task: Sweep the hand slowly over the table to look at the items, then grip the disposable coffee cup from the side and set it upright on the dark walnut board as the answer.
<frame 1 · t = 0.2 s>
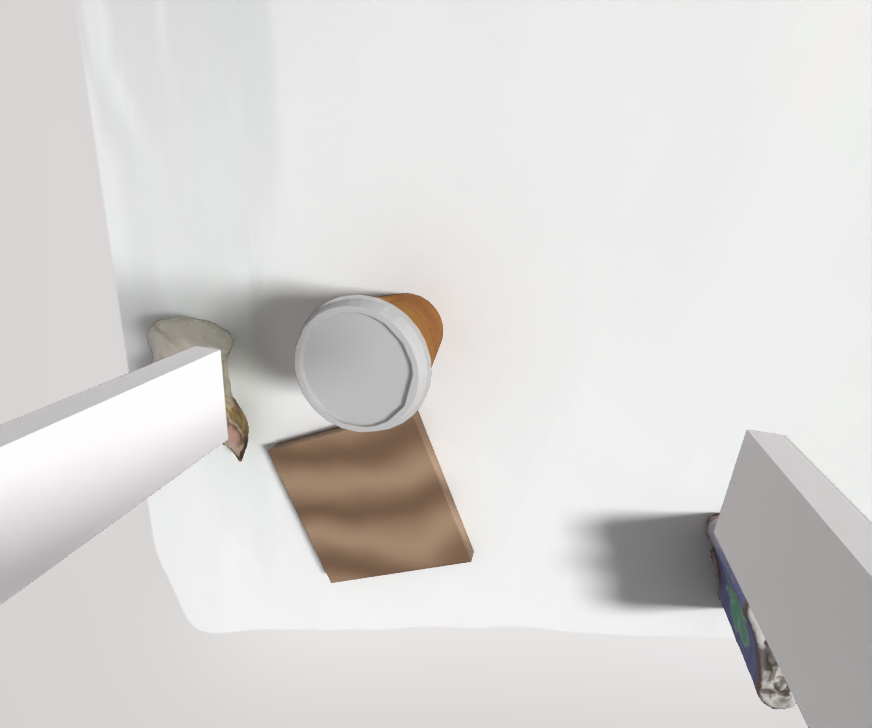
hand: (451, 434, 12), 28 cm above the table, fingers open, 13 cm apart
flask: (729, 559, 41), on the table
ceramic sculpture: (216, 375, 49), on the table
disposable coffee cup: (408, 328, 42), on the table
walnut board: (373, 496, 48), on the table
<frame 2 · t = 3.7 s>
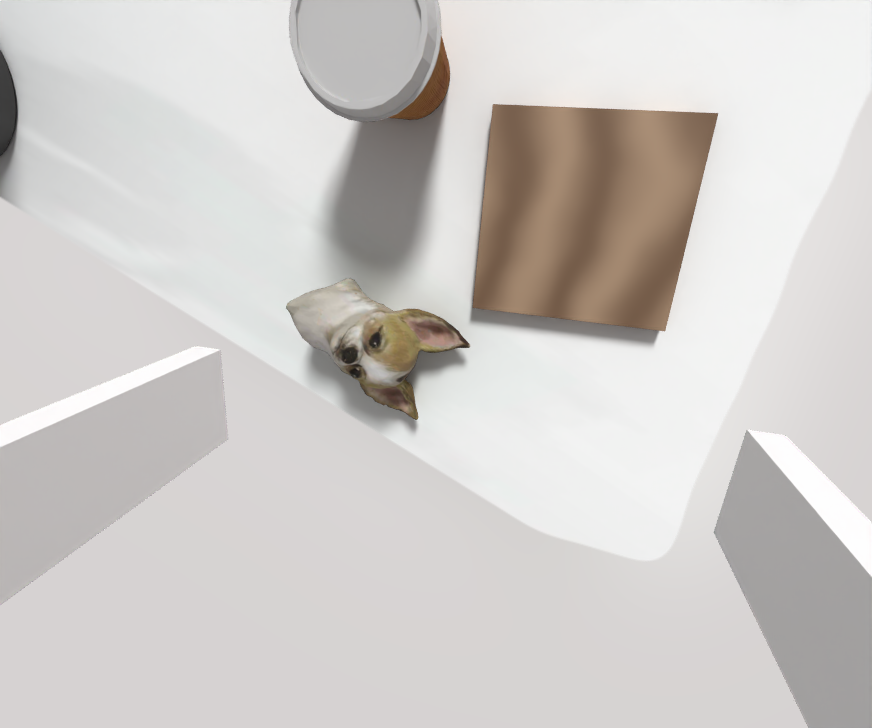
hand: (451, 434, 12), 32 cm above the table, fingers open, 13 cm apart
ceramic sculpture: (386, 332, 47), on the table
disposable coffee cup: (412, 77, 39), on the table
walnut board: (580, 220, 39), on the table
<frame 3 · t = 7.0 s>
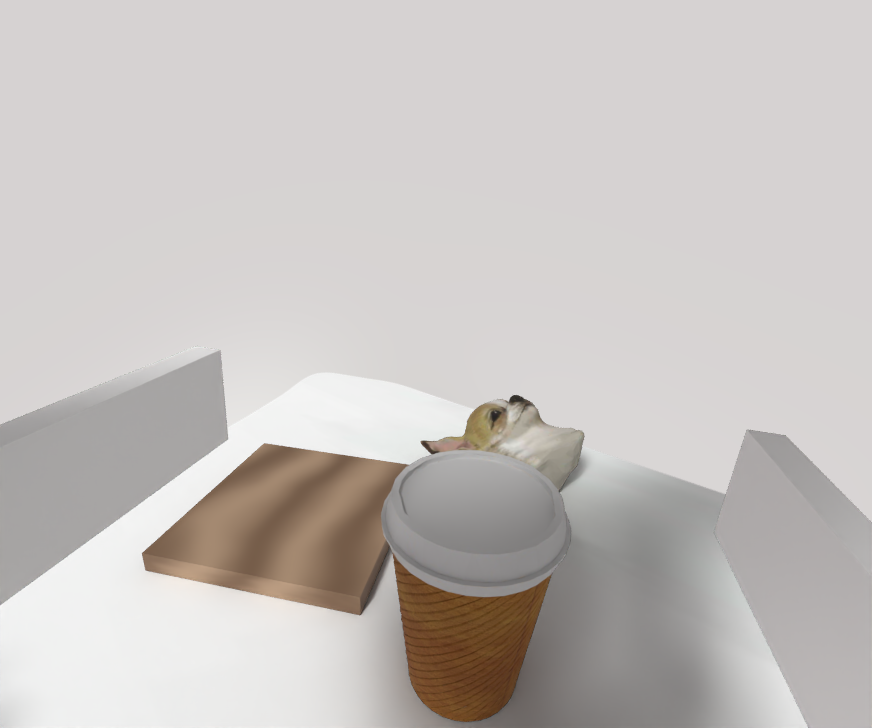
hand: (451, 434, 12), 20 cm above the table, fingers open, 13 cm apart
ceramic sculpture: (504, 473, 48), on the table
disposable coffee cup: (462, 669, 28), on the table
walnut board: (302, 518, 40), on the table
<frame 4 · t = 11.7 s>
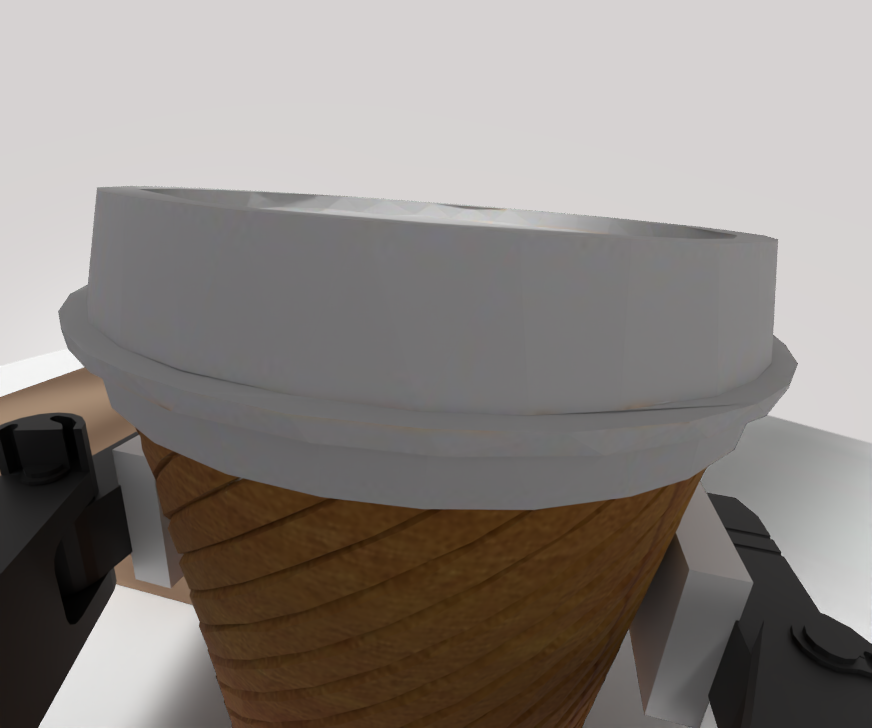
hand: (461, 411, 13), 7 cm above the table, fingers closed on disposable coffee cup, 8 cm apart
walnut board: (168, 439, 23), on the table
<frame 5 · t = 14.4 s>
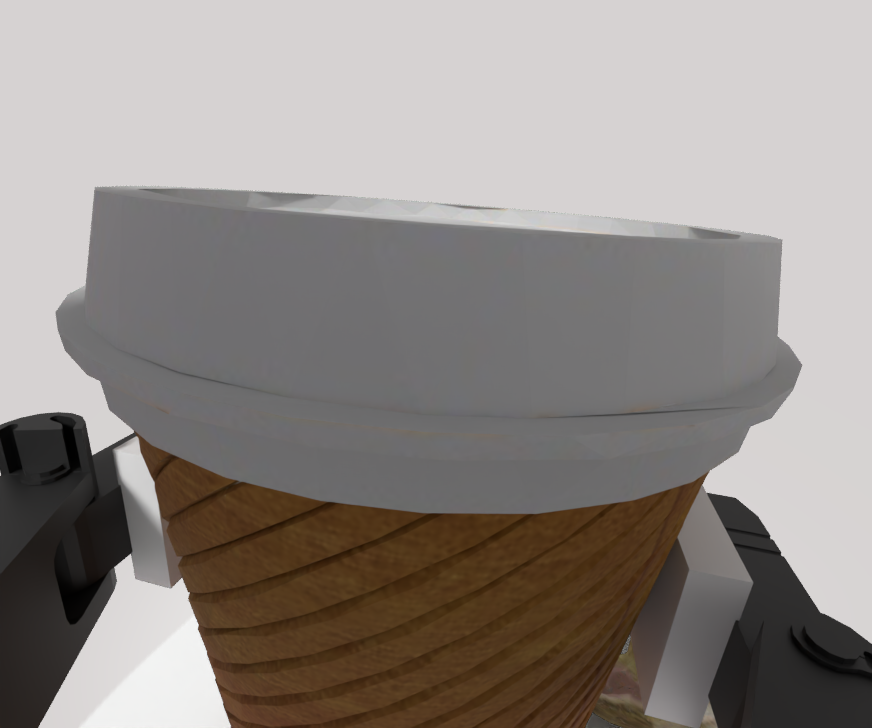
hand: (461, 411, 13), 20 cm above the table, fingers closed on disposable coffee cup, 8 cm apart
when the fingers open (9 cm above the table, at t = 17.1 s): disposable coffee cup drops 1 cm, resting on walnut board.
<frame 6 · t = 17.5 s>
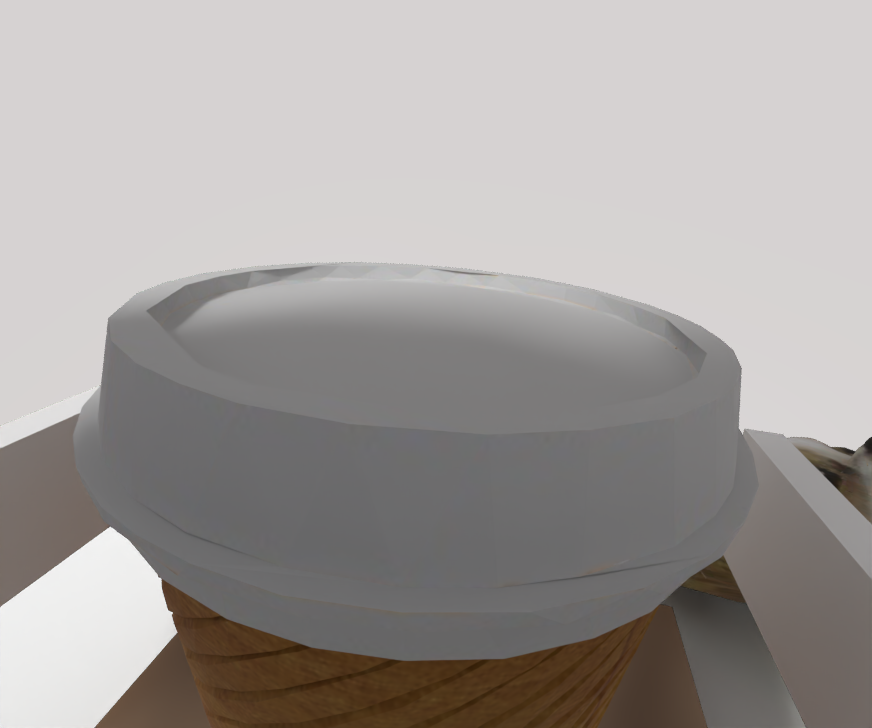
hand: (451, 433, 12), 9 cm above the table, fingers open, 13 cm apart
ceramic sculpture: (797, 620, 20), on the table
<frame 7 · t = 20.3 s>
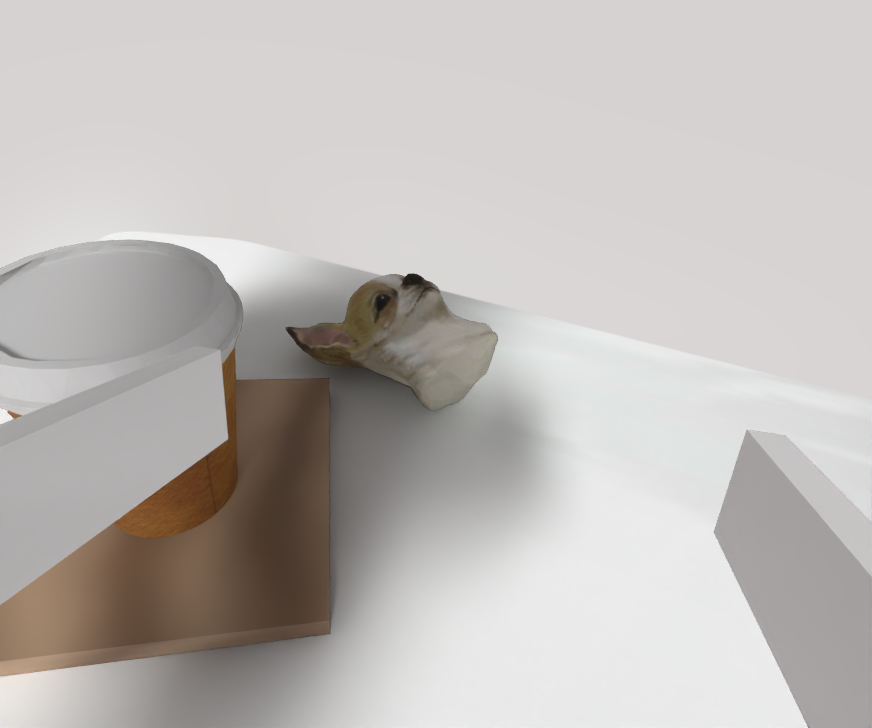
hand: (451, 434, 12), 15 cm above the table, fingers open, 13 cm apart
ceramic sculpture: (398, 370, 37), on the table
disposable coffee cup: (175, 486, 26), point 1 cm above the table, touching walnut board
walnut board: (182, 498, 27), on the table
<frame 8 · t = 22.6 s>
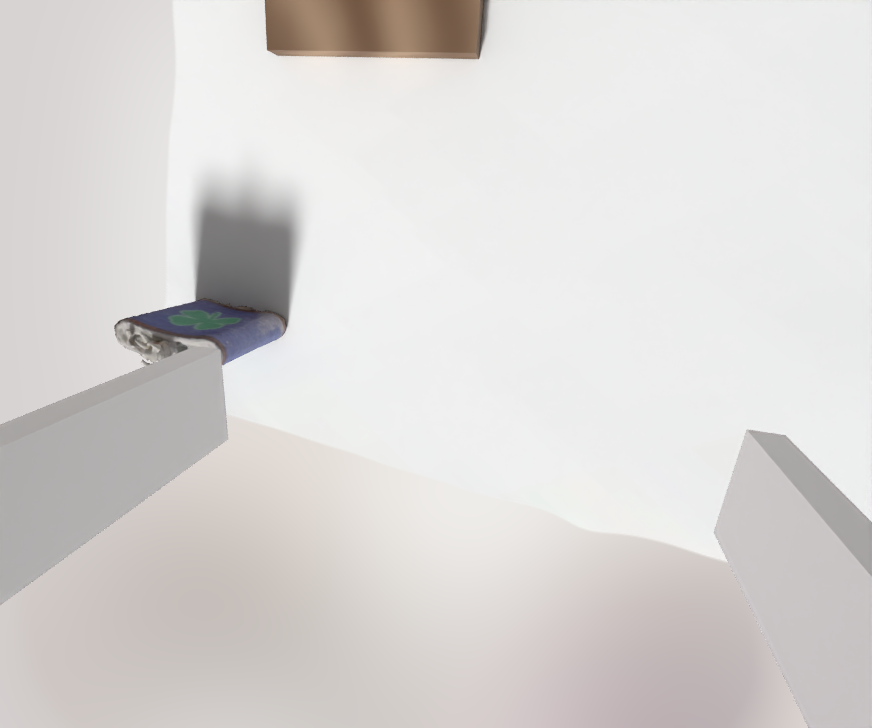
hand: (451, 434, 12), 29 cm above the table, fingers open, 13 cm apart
flask: (241, 318, 46), on the table
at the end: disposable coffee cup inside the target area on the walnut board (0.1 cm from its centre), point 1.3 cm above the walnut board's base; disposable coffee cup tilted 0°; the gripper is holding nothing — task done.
